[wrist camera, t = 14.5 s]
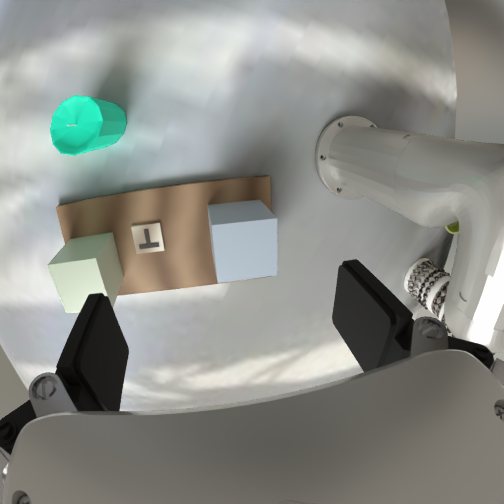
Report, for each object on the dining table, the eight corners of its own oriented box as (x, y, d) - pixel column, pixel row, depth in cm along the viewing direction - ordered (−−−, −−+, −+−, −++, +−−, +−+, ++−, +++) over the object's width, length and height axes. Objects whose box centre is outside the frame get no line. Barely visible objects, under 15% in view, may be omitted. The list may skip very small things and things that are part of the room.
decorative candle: (408, 301, 54) (479, 374, 32) (397, 276, 50) (482, 355, 28) (435, 275, 53) (510, 338, 31) (427, 247, 49) (516, 313, 27)
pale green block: (112, 232, 34) (95, 258, 27) (123, 277, 37) (112, 309, 30) (70, 239, 33) (47, 265, 26) (83, 281, 36) (66, 313, 29)
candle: (113, 154, 31) (79, 167, 21) (77, 136, 29) (33, 144, 18) (135, 113, 30) (108, 106, 19) (98, 95, 27) (59, 85, 17)
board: (268, 175, 37) (271, 177, 35) (270, 273, 43) (272, 277, 42) (58, 205, 32) (54, 208, 30) (85, 295, 38) (82, 300, 37)
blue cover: (260, 199, 37) (277, 218, 30) (261, 247, 40) (277, 275, 33) (207, 204, 36) (211, 225, 29) (212, 253, 39) (217, 283, 32)
